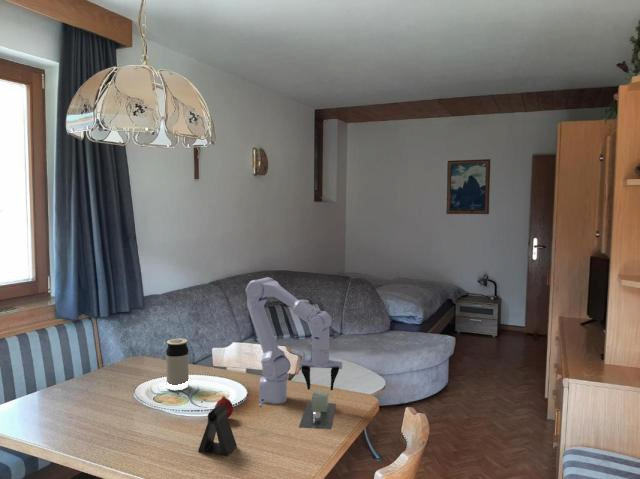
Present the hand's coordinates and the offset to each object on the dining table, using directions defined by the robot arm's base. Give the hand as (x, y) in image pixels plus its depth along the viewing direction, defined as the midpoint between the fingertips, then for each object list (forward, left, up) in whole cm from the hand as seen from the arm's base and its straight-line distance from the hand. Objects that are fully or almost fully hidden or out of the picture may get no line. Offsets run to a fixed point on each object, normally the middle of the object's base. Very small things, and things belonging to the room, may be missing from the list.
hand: (320, 388), depth 165 cm
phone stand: (-26, -29, -8) cm, 40 cm away
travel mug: (-56, +16, -8) cm, 59 cm away
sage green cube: (0, 0, -7) cm, 7 cm away
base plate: (0, -5, -8) cm, 9 cm away
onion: (-30, -10, -8) cm, 33 cm away
